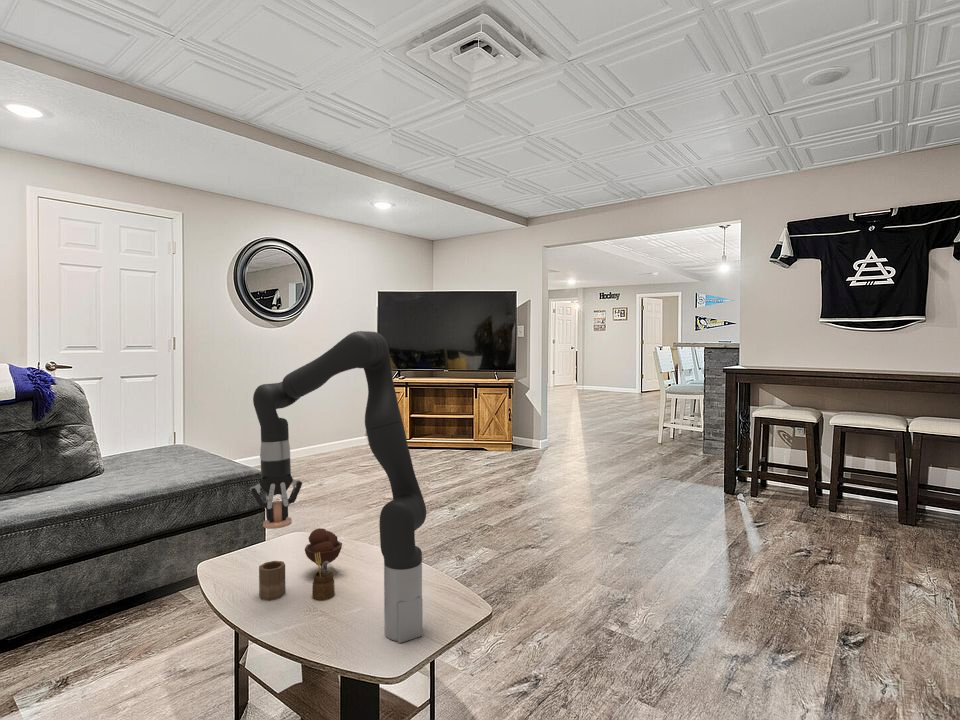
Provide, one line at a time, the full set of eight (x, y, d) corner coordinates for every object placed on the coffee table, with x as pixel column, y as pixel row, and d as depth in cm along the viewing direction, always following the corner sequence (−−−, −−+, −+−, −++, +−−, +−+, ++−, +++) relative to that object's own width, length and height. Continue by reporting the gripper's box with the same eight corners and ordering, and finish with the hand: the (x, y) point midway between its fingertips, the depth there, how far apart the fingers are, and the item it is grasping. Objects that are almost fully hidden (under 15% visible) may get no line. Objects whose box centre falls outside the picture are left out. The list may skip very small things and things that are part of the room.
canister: (287, 599, 149) (286, 567, 149) (262, 605, 146) (261, 572, 145) (282, 590, 154) (281, 559, 154) (258, 595, 151) (257, 564, 151)
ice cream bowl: (332, 585, 157) (332, 535, 157) (298, 582, 159) (297, 532, 159) (348, 571, 168) (348, 523, 167) (315, 568, 170) (315, 521, 169)
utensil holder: (319, 605, 145) (319, 561, 145) (307, 598, 149) (307, 555, 149) (338, 598, 149) (338, 555, 149) (326, 591, 154) (326, 549, 154)
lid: (294, 525, 144) (293, 503, 144) (265, 530, 140) (264, 507, 140) (288, 518, 150) (288, 497, 150) (261, 523, 146) (260, 501, 146)
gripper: (249, 462, 138) (251, 529, 138) (305, 456, 145) (307, 519, 145) (245, 458, 145) (247, 521, 145) (299, 451, 152) (301, 512, 152)
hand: (277, 520), depth 145 cm, fingers closed on lid, 2 cm apart
